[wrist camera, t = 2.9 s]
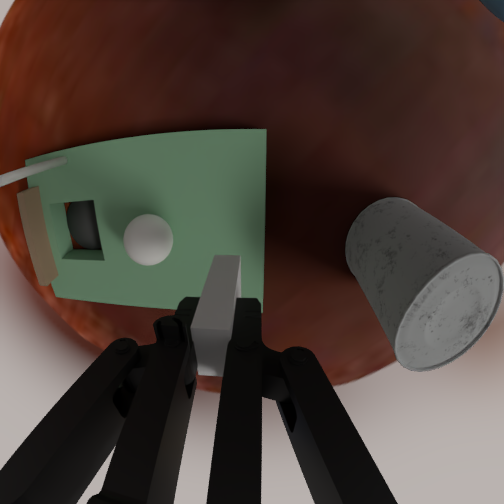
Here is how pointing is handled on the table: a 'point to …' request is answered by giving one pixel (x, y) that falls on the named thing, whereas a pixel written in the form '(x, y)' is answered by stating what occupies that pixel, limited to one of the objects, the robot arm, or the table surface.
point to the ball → (148, 239)
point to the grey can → (423, 282)
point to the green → (146, 202)
